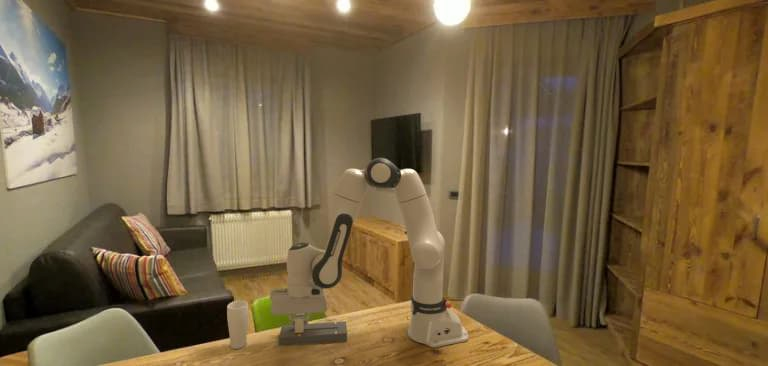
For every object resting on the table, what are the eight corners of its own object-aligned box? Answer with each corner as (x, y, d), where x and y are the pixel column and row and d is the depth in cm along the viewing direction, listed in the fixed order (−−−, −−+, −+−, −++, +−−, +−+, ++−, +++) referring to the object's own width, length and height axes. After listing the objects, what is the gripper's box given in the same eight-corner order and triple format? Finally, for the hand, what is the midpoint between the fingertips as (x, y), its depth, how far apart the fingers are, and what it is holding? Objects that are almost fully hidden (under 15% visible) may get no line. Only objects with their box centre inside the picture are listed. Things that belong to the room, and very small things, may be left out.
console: (345, 328, 140) (345, 321, 140) (347, 341, 131) (347, 332, 131) (282, 332, 136) (281, 325, 136) (278, 345, 127) (278, 337, 127)
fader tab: (304, 325, 135) (304, 312, 135) (303, 332, 130) (303, 318, 130) (296, 325, 135) (295, 312, 134) (294, 332, 130) (294, 319, 129)
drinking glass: (241, 352, 123) (240, 309, 122) (223, 349, 124) (222, 307, 123) (252, 341, 130) (251, 301, 128) (235, 339, 131) (234, 299, 130)
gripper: (268, 292, 126) (269, 330, 128) (327, 290, 129) (327, 326, 131) (271, 285, 132) (271, 321, 134) (327, 283, 136) (327, 318, 137)
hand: (299, 324), depth 132 cm, fingers closed on fader tab, 3 cm apart
